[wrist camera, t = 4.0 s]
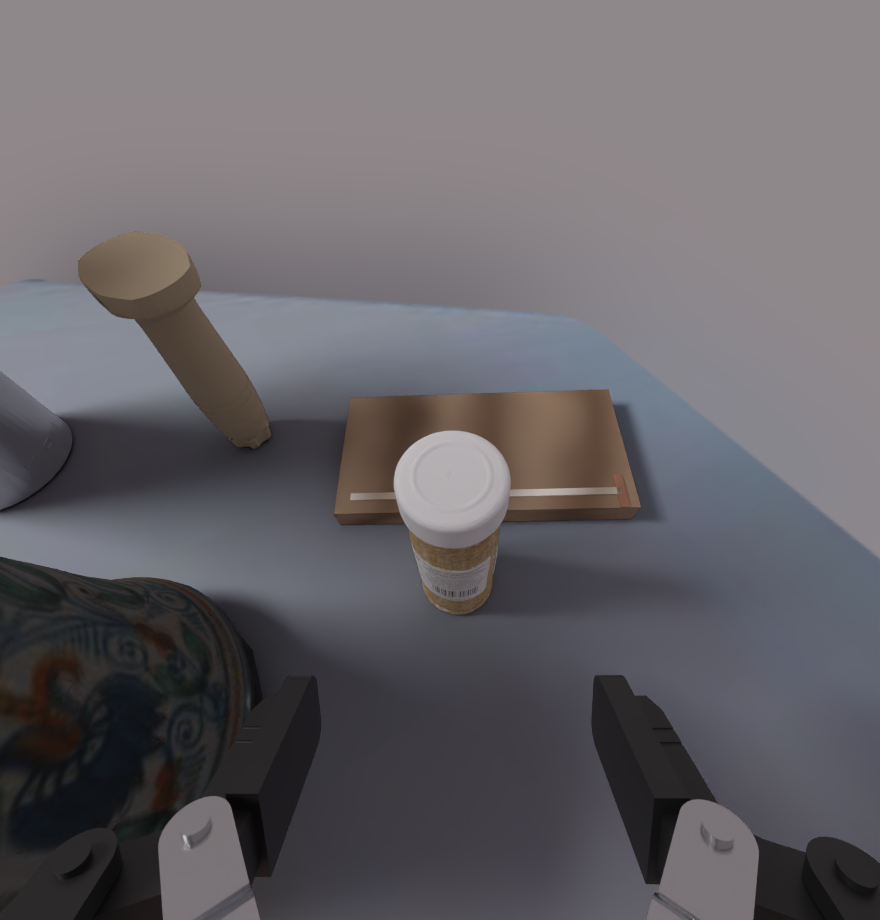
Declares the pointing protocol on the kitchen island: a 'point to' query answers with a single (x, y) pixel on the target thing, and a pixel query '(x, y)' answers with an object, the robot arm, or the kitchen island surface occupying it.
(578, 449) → the walnut board
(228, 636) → the beer stein
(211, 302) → the kitchen island surface
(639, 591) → the kitchen island surface
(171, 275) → the handle
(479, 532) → the sprinkles bottle
